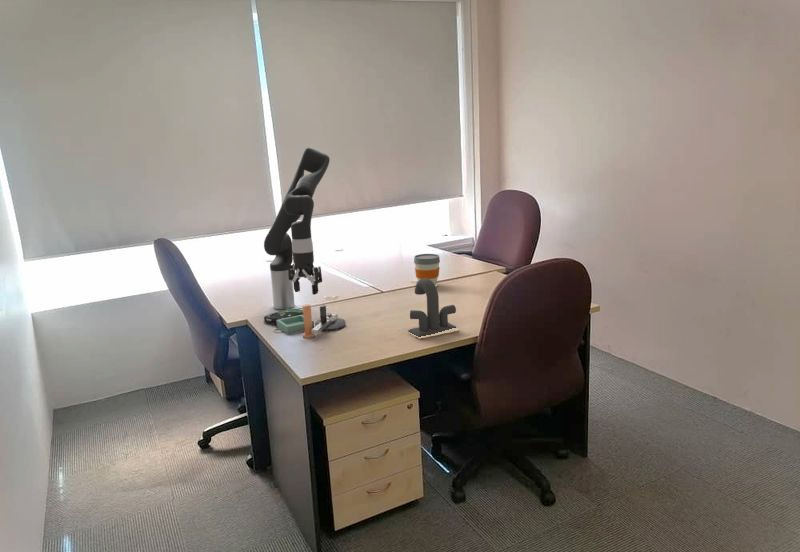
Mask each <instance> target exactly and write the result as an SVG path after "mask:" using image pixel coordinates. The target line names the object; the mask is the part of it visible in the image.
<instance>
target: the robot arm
mask: <svg viewBox="0 0 800 552" xmlns="http://www.w3.org/2000/svg"><path fill="white" fill-rule="evenodd" d="M330 160H331V159H330V157H329V155H327V154H326V153H325V152H322V151H319V150H317V149H315V148H313V147H311V146H308V147H306V148H305V149H304V150H303V151H302V154H301V156H300V159H299V161H298V164H297V167H296V170H295V173H294V176H293V178H292V181H291V183H290V185H289V186H288V187H289V188H288V190H287V192H286V194H285V195H284V196H285V197H284V199H282V203H281V206H280V209H279V211H278V212H277V215H276V217H275V219H274V222H273V224H272V226H271V227H270V229H269V230H268V233H267V234H266V237H265V238H264V241H263V249H264V251H265V252H266V254H267V255H269V256H275V257H274V259H273V260H272V261H271V262H270V263H269V268H270V269H269V270H270V272H269V273H270V279H271V289H272V290H271V291H272V300H273V301H272V302H273V303H272V304H273V309H276V310H284V309H288V308H291V309H293V307H295V306H296V305H295V293H298V292H301V285H300V284H301V283H300V280H301V278H304V279H307V280H308V281H309V282H310V283H311V294H312V295H313V296H314V295H317V294H318V293H319V284H320V283H321V284H322V283H323V277H322V267H321V266H319V265H318V266H314V263H315V257H314V256H315V255H314V246H313V239H312V227H311V225H312V217H313V211H314V208H315V207H314V206H315V203H314V200H313V197H314V194H315V192H316V189H317V186H318V185H319V183H320V182H321V181H322V179H323V177H324V176H325V174H326V172H327V170H328V169H329V168H328V167H329V164H330ZM305 171H306V172H309V174H308V173H307V174H305ZM302 216H303V217H302ZM300 217H302V219H301V220H299V219H300ZM290 229H291V235H289V234H288V232H289V230H290ZM294 292H295V293H294Z"/></svg>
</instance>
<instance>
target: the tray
mask: <svg viewBox="0 0 800 552" xmlns="http://www.w3.org/2000/svg"><path fill="white" fill-rule="evenodd" d="M276 321H277V325H276V327H277V328H278V329H279V330H280V331H282V332H283V333H285V334H286V335H292V334H295V333H300V332H305V330H304V317H303V315H298V316H293V317H288V318H284V319H279V320H276ZM314 327H315V322H314V320H312V329H313V328H314Z"/></svg>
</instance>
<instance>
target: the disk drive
mask: <svg viewBox="0 0 800 552" xmlns="http://www.w3.org/2000/svg"><path fill="white" fill-rule="evenodd" d="M298 315H303V309H299V308H298V309H297V308H288V309H281V310H279V311H277V312H273V313H270V314H269V315H266V316H264V317H263V320H264V323H267V324H271V325H276V326H277V321H276V320H279V319H284V318H288V317H293V316H298Z"/></svg>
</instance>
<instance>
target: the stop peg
mask: <svg viewBox="0 0 800 552" xmlns="http://www.w3.org/2000/svg"><path fill="white" fill-rule="evenodd" d="M302 310H303V317H304V330H305V331H304V332H303V333H302V337H303V338H305V339H311V338H314V337H315V336H316V334H312V332H311V330H312V321H313V318H312V307H311V304H304V305H302Z"/></svg>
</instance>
